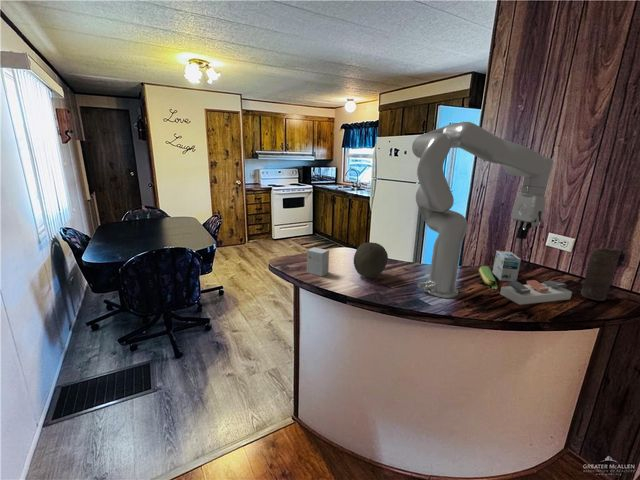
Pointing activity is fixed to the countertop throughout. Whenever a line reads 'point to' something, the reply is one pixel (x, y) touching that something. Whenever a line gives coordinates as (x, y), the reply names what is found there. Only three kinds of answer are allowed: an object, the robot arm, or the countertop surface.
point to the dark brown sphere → (370, 259)
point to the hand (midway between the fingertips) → (521, 238)
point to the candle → (600, 273)
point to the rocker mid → (537, 285)
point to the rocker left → (519, 287)
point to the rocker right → (554, 284)
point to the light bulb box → (506, 266)
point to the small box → (317, 261)
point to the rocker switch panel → (536, 294)
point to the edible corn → (487, 276)
